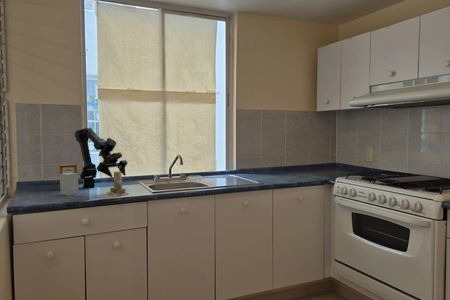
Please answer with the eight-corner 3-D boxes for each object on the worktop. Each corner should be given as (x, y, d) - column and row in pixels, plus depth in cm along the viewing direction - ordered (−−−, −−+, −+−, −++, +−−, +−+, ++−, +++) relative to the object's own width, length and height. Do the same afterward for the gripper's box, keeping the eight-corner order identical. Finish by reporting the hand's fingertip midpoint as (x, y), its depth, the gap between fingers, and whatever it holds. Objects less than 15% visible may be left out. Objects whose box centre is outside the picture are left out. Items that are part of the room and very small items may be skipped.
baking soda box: (60, 190, 218) (60, 165, 216) (60, 188, 223) (59, 164, 222) (76, 188, 222) (76, 164, 221) (75, 187, 228) (75, 163, 227)
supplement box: (79, 193, 206) (78, 173, 205) (67, 195, 200) (67, 174, 199) (71, 192, 210) (70, 172, 209) (60, 194, 204) (59, 173, 203)
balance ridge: (106, 193, 206) (106, 188, 206) (118, 191, 213) (117, 186, 213) (117, 196, 200) (117, 190, 200) (129, 194, 206) (129, 188, 206)
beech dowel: (113, 189, 203) (113, 172, 203) (114, 187, 208) (114, 171, 207) (121, 188, 204) (121, 172, 204) (121, 187, 209) (121, 171, 208)
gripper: (99, 148, 200) (110, 169, 194) (125, 147, 214) (137, 166, 209) (91, 161, 205) (102, 181, 199) (118, 159, 220) (129, 177, 214)
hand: (118, 176), depth 205 cm, fingers open, 9 cm apart
